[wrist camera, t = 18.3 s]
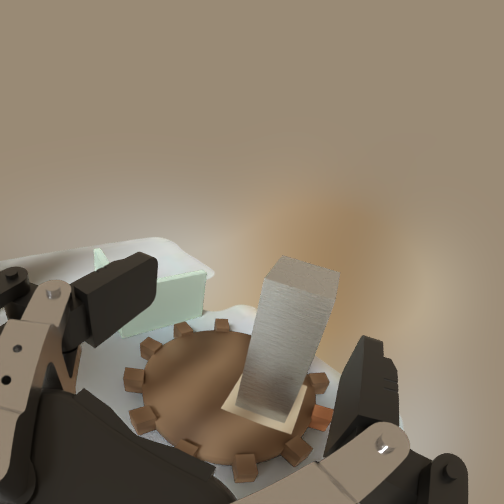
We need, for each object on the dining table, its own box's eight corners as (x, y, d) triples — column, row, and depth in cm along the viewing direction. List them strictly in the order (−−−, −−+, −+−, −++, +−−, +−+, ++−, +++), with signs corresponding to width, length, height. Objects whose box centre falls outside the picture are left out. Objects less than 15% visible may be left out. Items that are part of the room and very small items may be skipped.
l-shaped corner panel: (201, 319, 41) (206, 272, 38) (122, 341, 33) (118, 290, 30) (163, 280, 48) (165, 239, 46) (96, 294, 40) (93, 249, 38)
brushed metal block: (234, 405, 25) (264, 278, 20) (252, 373, 30) (282, 255, 24) (284, 423, 24) (335, 300, 19) (296, 389, 28) (340, 272, 23)
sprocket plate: (83, 408, 22) (78, 396, 21) (190, 311, 41) (191, 300, 40) (300, 513, 16) (307, 507, 15) (338, 364, 35) (343, 353, 35)
